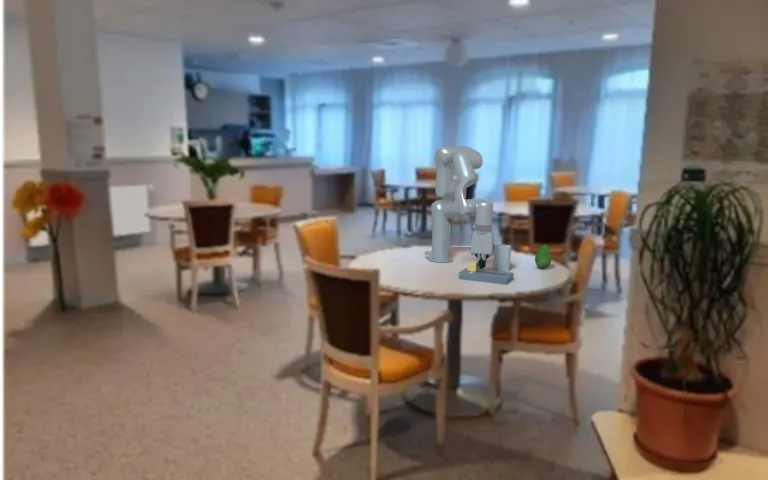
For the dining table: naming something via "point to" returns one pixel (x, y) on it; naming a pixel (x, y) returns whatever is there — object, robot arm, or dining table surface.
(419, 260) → the dining table surface
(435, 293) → the dining table surface
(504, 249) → the light blue cylinder
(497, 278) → the board
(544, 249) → the avocado
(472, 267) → the fader knob
